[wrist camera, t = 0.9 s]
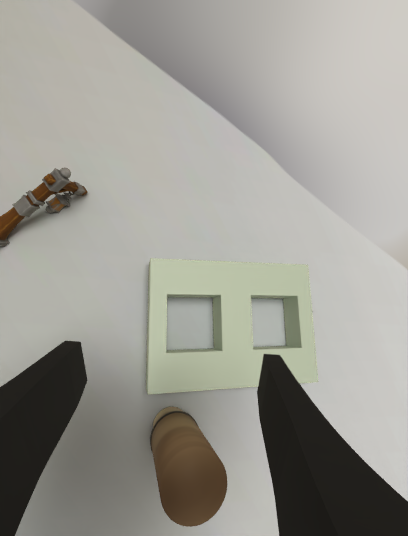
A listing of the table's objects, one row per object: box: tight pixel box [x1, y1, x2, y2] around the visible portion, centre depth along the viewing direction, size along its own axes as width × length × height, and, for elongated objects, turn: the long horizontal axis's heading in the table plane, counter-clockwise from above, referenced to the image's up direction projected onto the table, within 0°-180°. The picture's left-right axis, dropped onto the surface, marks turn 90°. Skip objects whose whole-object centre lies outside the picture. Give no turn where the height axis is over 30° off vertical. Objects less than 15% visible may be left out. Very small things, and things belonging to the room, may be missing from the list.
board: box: [146, 258, 318, 394], centre depth 24 cm, size 10×14×2 cm
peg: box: [150, 407, 227, 527], centre depth 18 cm, size 4×4×9 cm
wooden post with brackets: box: [0, 168, 87, 246], centre depth 22 cm, size 2×8×4 cm, turn 127°
